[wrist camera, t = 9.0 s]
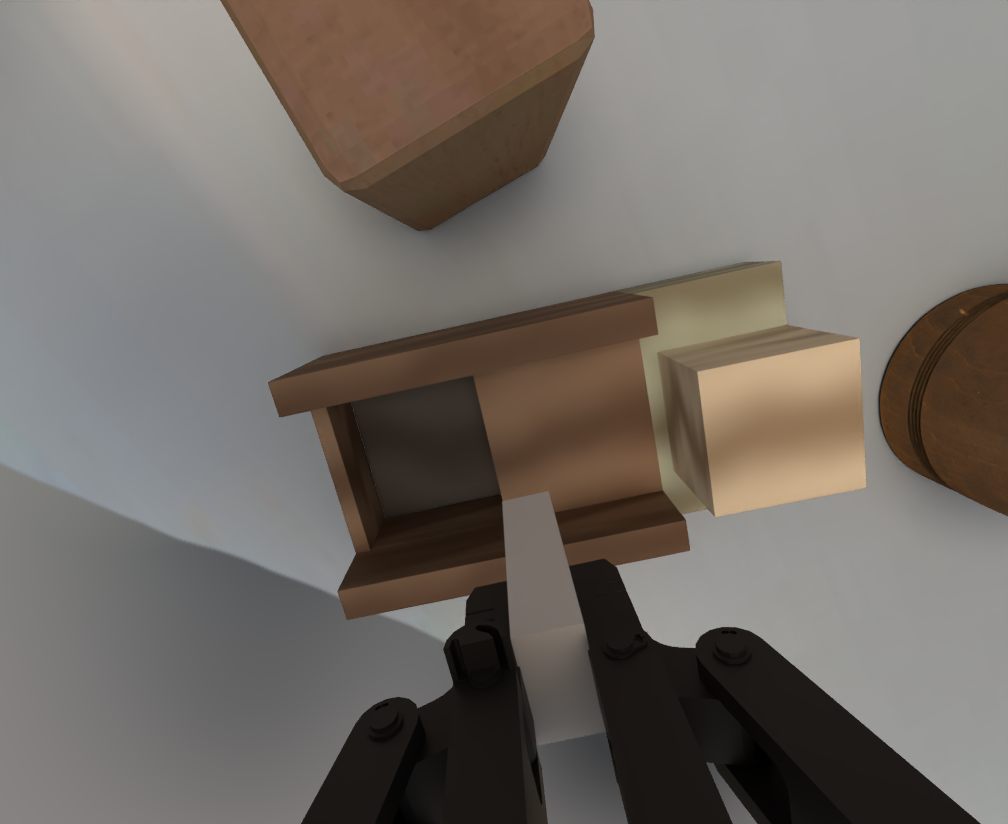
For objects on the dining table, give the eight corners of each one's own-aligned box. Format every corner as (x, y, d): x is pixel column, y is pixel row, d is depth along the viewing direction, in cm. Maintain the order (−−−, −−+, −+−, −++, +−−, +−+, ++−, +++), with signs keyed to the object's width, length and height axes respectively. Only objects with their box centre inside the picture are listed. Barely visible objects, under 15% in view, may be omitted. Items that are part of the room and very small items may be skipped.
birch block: (657, 351, 34) (697, 371, 27) (785, 325, 34) (859, 338, 27) (673, 470, 36) (715, 517, 29) (795, 446, 35) (866, 487, 29)
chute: (322, 356, 39) (267, 382, 29) (744, 262, 37) (824, 259, 28) (379, 544, 42) (346, 619, 33) (765, 464, 41) (842, 519, 32)
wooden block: (473, 5, 33) (443, -362, 14) (549, 160, 36) (613, 27, 16) (336, 93, 35) (132, -136, 15) (418, 238, 37) (332, 199, 17)
